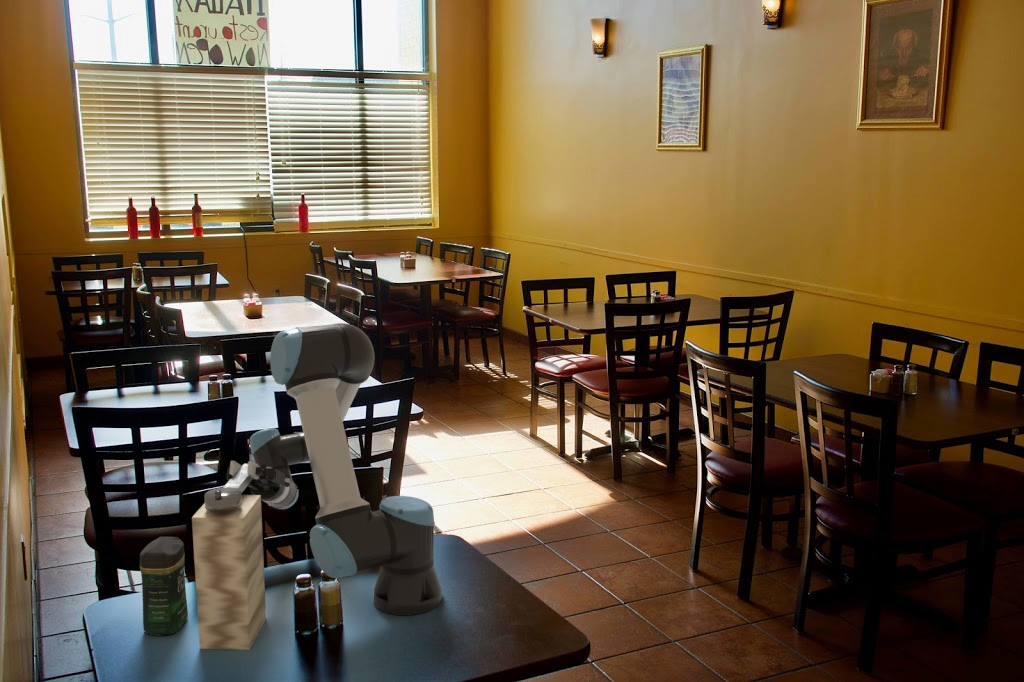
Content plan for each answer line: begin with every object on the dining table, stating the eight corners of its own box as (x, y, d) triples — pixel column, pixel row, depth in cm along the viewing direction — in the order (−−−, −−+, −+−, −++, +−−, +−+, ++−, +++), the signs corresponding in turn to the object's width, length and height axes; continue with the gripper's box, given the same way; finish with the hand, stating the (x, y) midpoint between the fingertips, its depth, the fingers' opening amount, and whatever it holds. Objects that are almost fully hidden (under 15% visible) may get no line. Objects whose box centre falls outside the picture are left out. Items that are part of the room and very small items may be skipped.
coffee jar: (177, 637, 185) (172, 553, 182) (138, 637, 185) (132, 552, 181) (193, 613, 195) (188, 533, 191) (156, 613, 195) (150, 532, 191)
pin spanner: (235, 472, 198) (234, 454, 197) (267, 472, 198) (266, 454, 197) (199, 512, 176) (198, 492, 175) (235, 512, 176) (234, 492, 175)
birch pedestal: (266, 619, 193) (260, 495, 187) (249, 649, 181) (243, 518, 176) (219, 618, 193) (212, 494, 187) (199, 648, 181) (191, 517, 176)
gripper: (302, 502, 211) (277, 485, 189) (233, 500, 211) (200, 484, 189) (304, 470, 214) (280, 450, 191) (236, 468, 214) (204, 449, 191)
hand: (240, 467), depth 190 cm, fingers closed on pin spanner, 3 cm apart
